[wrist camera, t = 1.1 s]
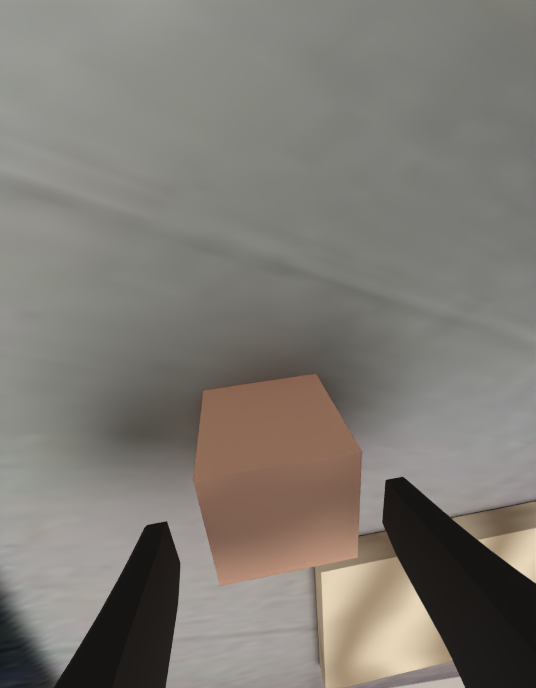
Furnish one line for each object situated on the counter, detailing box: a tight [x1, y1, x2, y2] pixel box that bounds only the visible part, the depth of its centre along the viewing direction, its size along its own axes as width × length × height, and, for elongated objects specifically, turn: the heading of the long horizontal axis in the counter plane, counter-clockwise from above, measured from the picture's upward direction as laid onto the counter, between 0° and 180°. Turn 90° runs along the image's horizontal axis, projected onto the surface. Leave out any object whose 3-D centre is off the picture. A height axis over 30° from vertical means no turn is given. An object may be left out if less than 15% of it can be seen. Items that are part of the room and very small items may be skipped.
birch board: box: [315, 501, 536, 688], centre depth 21 cm, size 20×14×2 cm
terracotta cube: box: [193, 374, 362, 586], centre depth 12 cm, size 5×5×5 cm
